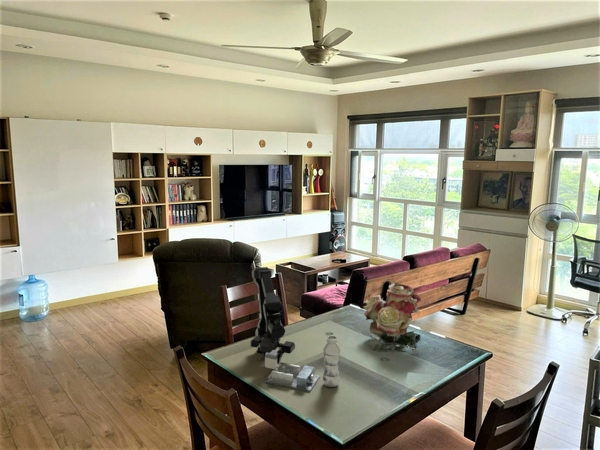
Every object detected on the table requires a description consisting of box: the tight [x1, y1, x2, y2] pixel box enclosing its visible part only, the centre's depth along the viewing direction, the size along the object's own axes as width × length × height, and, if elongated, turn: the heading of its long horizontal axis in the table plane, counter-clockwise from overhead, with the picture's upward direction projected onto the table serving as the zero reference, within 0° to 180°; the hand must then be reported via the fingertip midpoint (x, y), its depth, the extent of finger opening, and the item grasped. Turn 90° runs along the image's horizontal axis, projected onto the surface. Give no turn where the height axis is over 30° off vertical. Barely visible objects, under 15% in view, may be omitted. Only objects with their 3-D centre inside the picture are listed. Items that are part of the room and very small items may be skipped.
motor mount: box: [265, 361, 321, 393], centre depth 177 cm, size 19×12×5 cm, turn 70°
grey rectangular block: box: [264, 349, 279, 370], centre depth 189 cm, size 5×5×6 cm
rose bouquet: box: [362, 282, 423, 353], centre depth 210 cm, size 26×29×30 cm
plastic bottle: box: [322, 335, 341, 388], centre depth 172 cm, size 6×7×20 cm
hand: (272, 362), depth 189 cm, fingers closed on grey rectangular block, 5 cm apart
